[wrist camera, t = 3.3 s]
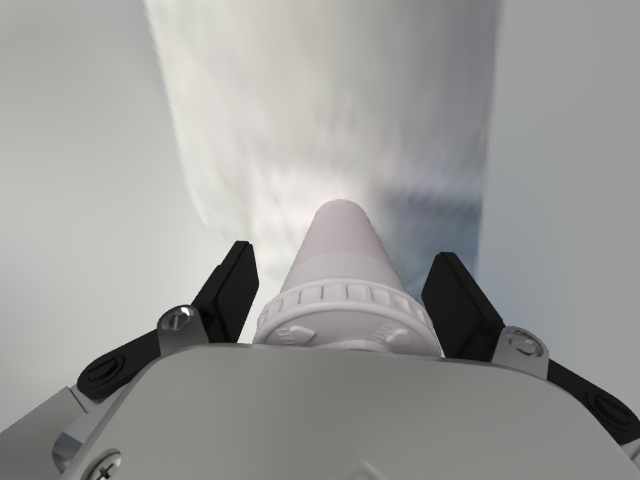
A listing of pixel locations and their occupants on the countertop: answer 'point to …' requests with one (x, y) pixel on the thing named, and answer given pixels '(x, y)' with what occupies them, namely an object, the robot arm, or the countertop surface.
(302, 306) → the smoothie
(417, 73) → the countertop surface
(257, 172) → the countertop surface
